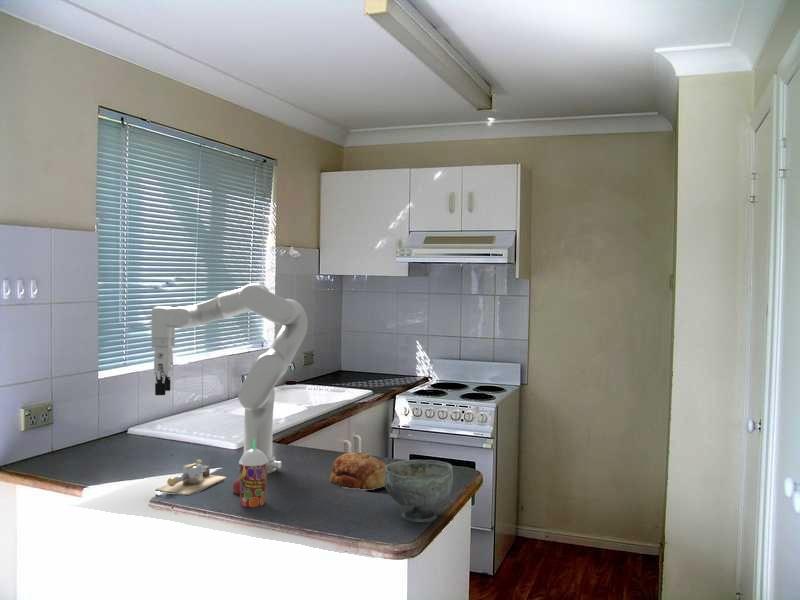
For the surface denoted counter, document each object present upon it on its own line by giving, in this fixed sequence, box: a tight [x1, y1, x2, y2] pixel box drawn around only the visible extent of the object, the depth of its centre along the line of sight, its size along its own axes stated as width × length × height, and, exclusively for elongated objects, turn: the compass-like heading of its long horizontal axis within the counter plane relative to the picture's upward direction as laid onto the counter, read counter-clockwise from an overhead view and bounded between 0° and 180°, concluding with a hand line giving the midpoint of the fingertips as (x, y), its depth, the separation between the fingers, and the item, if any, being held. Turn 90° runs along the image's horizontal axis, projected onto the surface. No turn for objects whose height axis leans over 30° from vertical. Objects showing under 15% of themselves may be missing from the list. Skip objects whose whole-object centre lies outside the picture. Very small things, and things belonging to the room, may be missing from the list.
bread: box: [329, 452, 388, 489], centre depth 223 cm, size 20×18×10 cm
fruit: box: [232, 477, 240, 495], centre depth 207 cm, size 6×6×8 cm
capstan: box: [166, 462, 206, 486], centre depth 212 cm, size 18×6×6 cm, turn 160°
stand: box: [154, 459, 228, 496], centre depth 214 cm, size 12×20×7 cm, turn 160°
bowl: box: [384, 459, 454, 523], centre depth 191 cm, size 20×19×15 cm
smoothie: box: [238, 439, 268, 508], centre depth 197 cm, size 8×8×20 cm
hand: (162, 392), depth 232 cm, fingers open, 9 cm apart
